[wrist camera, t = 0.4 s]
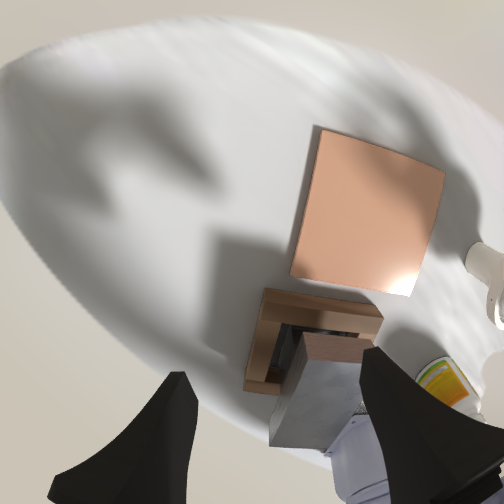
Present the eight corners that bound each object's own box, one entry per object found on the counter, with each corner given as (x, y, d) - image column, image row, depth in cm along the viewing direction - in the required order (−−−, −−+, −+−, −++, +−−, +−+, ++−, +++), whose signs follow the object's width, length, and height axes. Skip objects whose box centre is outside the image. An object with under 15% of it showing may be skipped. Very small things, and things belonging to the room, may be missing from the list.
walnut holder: (338, 385, 23) (342, 400, 21) (244, 375, 23) (243, 390, 21) (375, 305, 20) (384, 318, 18) (265, 287, 20) (264, 300, 18)
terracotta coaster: (406, 292, 20) (409, 295, 19) (290, 272, 19) (290, 276, 19) (441, 172, 16) (445, 173, 16) (321, 130, 16) (322, 130, 16)
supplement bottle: (404, 392, 23) (434, 459, 14) (428, 354, 22) (471, 422, 12) (437, 390, 24) (468, 448, 14) (460, 355, 22) (502, 412, 13)
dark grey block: (316, 383, 23) (327, 448, 16) (269, 378, 23) (268, 446, 16) (350, 301, 20) (383, 364, 13) (295, 292, 20) (308, 359, 13)
